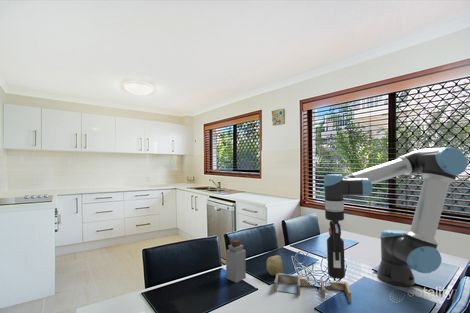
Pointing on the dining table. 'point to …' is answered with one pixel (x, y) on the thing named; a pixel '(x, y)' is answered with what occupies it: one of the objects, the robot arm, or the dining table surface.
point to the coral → (274, 265)
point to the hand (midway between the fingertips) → (336, 264)
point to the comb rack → (291, 281)
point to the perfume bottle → (235, 262)
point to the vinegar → (332, 271)
